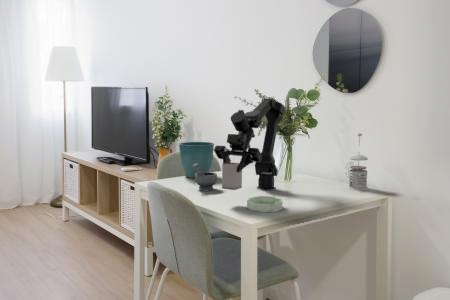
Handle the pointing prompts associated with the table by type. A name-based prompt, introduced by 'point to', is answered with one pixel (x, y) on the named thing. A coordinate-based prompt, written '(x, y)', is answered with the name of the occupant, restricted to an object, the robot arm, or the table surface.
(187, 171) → the flower pot
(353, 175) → the french press
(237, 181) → the tumbler
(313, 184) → the table surface
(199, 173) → the mortar and pestle
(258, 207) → the dish
